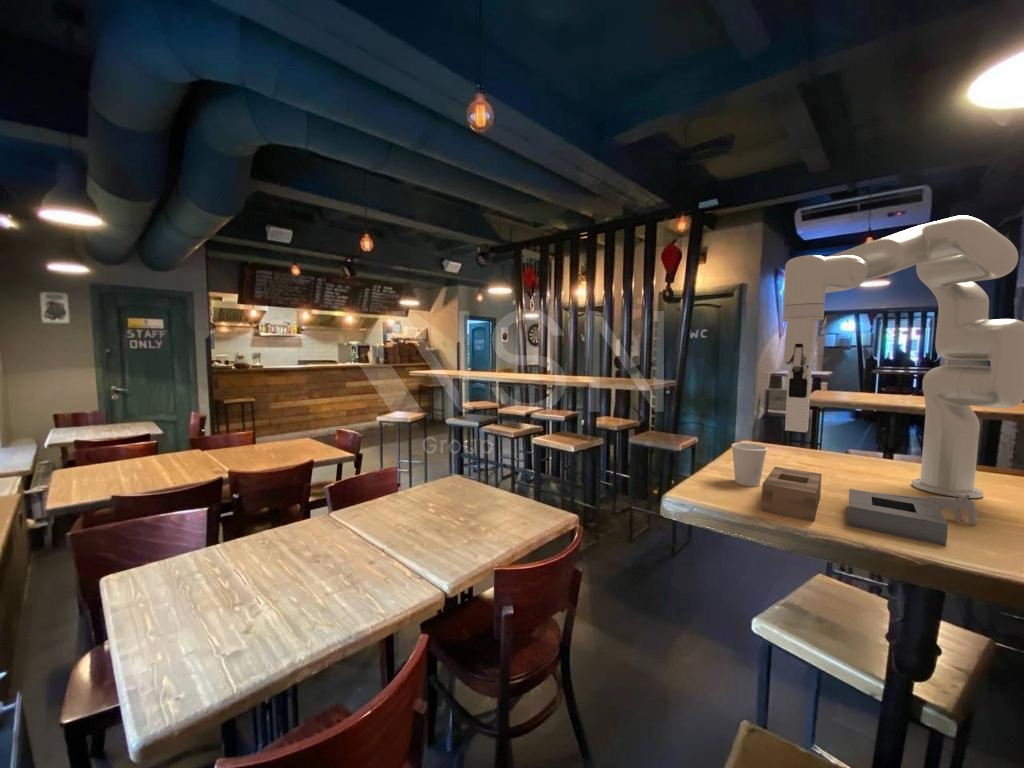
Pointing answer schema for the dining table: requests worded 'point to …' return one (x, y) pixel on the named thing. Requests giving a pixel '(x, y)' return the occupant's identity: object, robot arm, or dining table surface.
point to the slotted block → (792, 493)
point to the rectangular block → (798, 407)
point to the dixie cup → (748, 463)
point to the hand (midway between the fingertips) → (798, 395)
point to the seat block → (897, 516)
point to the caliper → (950, 505)
